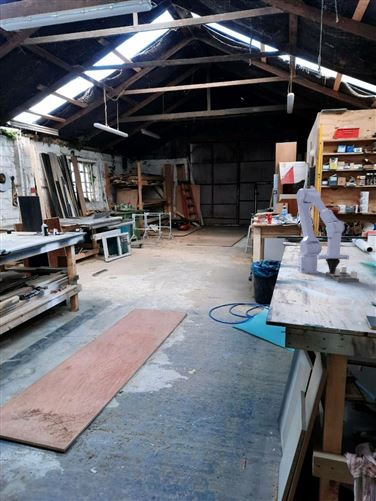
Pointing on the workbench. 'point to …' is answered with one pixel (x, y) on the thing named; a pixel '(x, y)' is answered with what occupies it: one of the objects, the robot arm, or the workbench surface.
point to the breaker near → (353, 274)
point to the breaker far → (343, 268)
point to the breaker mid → (337, 271)
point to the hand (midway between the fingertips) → (331, 273)
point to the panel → (342, 277)
